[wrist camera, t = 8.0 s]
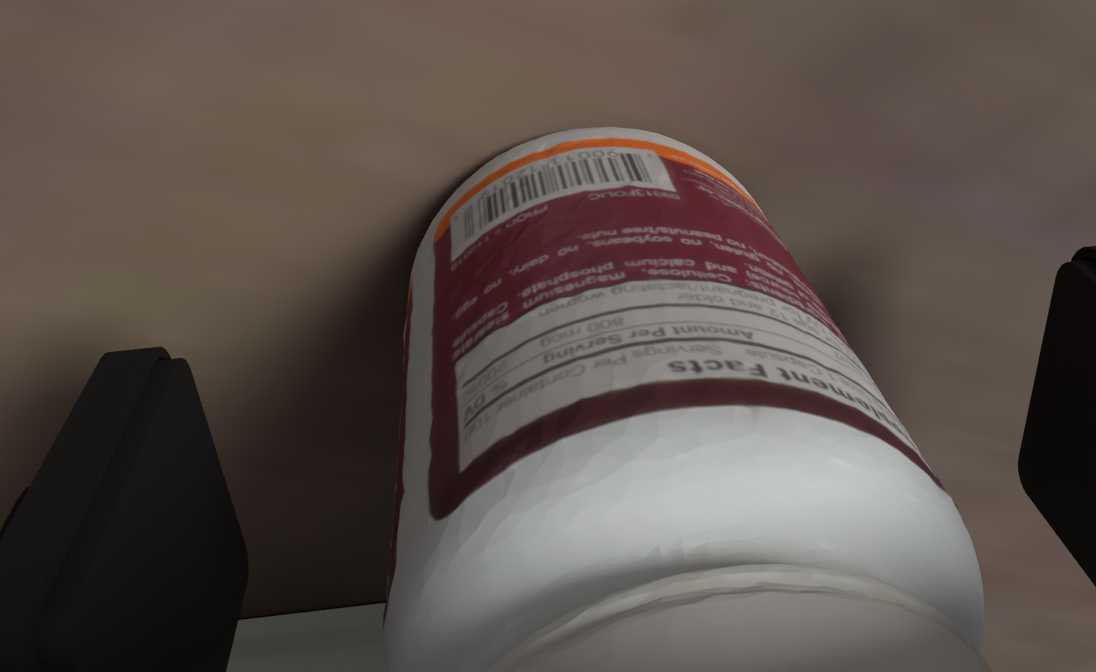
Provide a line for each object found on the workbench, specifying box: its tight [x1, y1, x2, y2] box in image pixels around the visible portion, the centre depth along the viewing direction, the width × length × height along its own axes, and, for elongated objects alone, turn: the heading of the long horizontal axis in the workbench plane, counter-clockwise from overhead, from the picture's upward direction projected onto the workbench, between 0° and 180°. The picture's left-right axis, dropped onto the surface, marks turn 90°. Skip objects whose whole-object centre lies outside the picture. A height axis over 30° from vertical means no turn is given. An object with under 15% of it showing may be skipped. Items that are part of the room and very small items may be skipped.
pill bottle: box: [383, 127, 993, 672], centre depth 10 cm, size 5×5×8 cm
